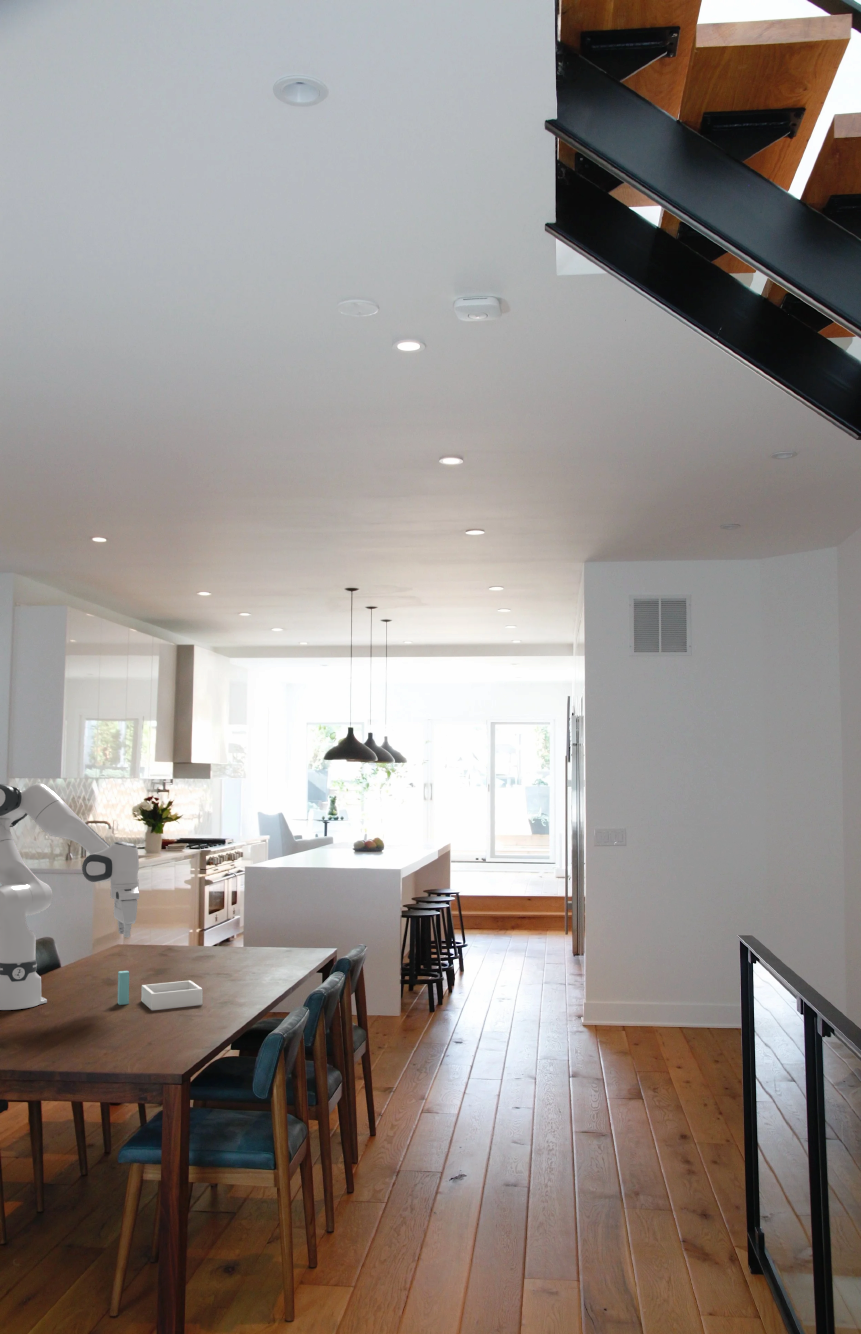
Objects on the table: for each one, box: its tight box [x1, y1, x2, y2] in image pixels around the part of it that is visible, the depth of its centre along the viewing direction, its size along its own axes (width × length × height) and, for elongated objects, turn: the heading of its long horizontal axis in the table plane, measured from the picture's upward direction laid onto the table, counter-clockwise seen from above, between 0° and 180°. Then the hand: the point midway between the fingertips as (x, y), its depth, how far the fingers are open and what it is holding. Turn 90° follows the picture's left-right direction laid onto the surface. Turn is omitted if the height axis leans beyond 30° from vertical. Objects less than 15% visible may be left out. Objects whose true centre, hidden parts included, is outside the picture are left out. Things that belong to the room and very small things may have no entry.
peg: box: [117, 970, 130, 1006], centre depth 335 cm, size 3×3×10 cm
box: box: [140, 980, 204, 1011], centre depth 335 cm, size 16×16×5 cm
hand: (124, 935), depth 336 cm, fingers open, 8 cm apart
